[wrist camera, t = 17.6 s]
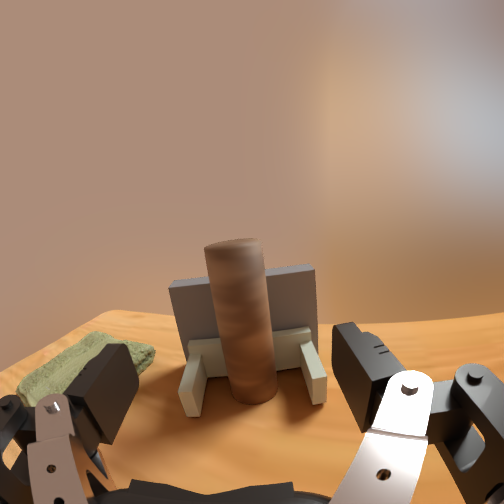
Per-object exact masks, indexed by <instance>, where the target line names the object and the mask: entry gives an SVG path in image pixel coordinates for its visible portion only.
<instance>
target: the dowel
mask: <svg viewBox="0 0 504 504" xmlns="http://www.w3.org/2000/svg"><path fill="white" fill-rule="evenodd" d="M204 252H205V258H206V264H207V270H208V276H209V282H210V288H211V293H212V299H213V304H214V309H215V315H216V320H217V325H218V330H219V335H220V340H221V345H222V350H223V355H224V359H225V364H226V369H227V373H228V378H229V382H230V387H231V391H232V395H233V397H234V398H235V399H236V400H237V401H239V402H241V403H244V404H260V403H264V402H266V401H268V400H270V399H272V398H273V397H274V396H275V395H276V393H277V391H278V383H277V373H276V364H275V355H274V346H273V337H272V328H271V319H270V310H269V301H268V293H267V284H266V275H265V268H264V259H263V250H262V242H261V240H260V239H253V238H249V239H235V240H228V241H223V242H218V243H215V244H211V245H209V246H206V247H205V248H204Z"/></svg>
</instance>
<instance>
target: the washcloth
mask: <svg viewBox="0 0 504 504" xmlns="http://www.w3.org/2000/svg"><path fill="white" fill-rule="evenodd" d="M108 343H124V344H126V345H127V347H128V349H129V352H130V355H131V357H132V360H133V363H134V366H135V369H136V371H137V374H138V375H139V374H141V373H142V371H144V370H145V369H146V368H147V367H148V366H149V365H150V364H151V363H152V362H153V359H154V356H155V351H156V350H154V347H153V346H151V345H147V344H143V343H138V342H132V341H128V340H123V341H122V340H117V339H114V337H112V336H111V335H108V334H106V333H101V332H97V331H94V332H91V333H89V334H87V335H86V336H85V337H84V338H82V339H81V341H79V342H78V343H76V344H75V345H73V346H71V347H68V348H67V349H65V350H64V351H63V352H62V353H60V354H59V355H57V356H56V357H55V358H53V359H52V360H51V361H49V362H48V363H46V364H44V365H43V366H41V367H40V368H38V369H36V370H34V371H33V372H31V373H30V374H28V375H27V376H25V377H24V378H23V379H22V381H21V382H20V384H19V385H18V387H17V390H16V393H17V394H18V395H19V397H20V398H21V400H22V401H23V403H24V404H25V406H26V407H36V404H37V403H38V401H39V400H40V399H42V398H43V397H45V396H47V395H49V394H54V393H59V394H63V392H64V391H65V390H66V389H67V387H68V386H69V385H70V383H71V382H72V381H73V380H74V378H75V377H76V376H77V375H78V373H79V372H80V371H81V370H83V367H84V366H85V365H86V364H87V362H88V361H89V360H91V359H92V358H94V357H95V356H97V355H98V354H99V353H100V352H101V350H102V349H103V348H104V347H105V345H106V344H108Z"/></svg>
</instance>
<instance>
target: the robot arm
mask: <svg viewBox="0 0 504 504" xmlns="http://www.w3.org/2000/svg"><path fill="white" fill-rule="evenodd" d="M332 369H333V372H334V375H335V377H336V379H337V381H338V384H339V386H340V388H341V390H342V392H343V394H344V396H345V398H346V400H347V403H348V405H349V407H350V409H351V411H352V413H353V415H354V418H355V420H356V422H357V424H358V426H359V428H360V431H361V433H364V432H367V433H366V435H365V437H364V439H363V442H362V444H361V446H360V448H359V450H358V452H357V454H356V456H355V458H354V460H353V462H352V464H351V466H350V468H349V470H348V471H347V473H346V475H345V477H344V479H343V480H342V482H341V484H340V486H339V487H338V489H337V491H336V492H335V494H334V496H333V497H332V498H331V497H327V496H324V495H320V494H316V493H310V492H303V491H294V489H293V483H292V482H286V483H278V484H269V485H258V486H248V487H244V488H240V489H236V490H231V491H227V492H222V493H217V494H211V495H203V494H199V493H195V492H191V491H188V490H184V489H181V488H177V487H174V486H171V485H168V484H161V483H153V482H146V481H140V480H134V479H132V480H131V483H130V486H129V488H126V489H118V490H117V488H116V486H115V484H114V482H113V480H112V478H111V475H110V473H109V471H108V468H107V466H106V464H105V461H104V458H103V456H102V453H101V451H100V450H99V448H98V445H99V443H104V444H110V445H112V444H113V441H114V439H115V437H116V435H117V433H118V430H119V428H120V426H121V424H122V422H123V420H124V417H125V415H126V413H127V411H128V409H129V407H130V405H131V403H132V400H133V398H134V396H135V394H136V392H137V390H138V387H139V378H138V374H137V371H136V369H135V366H134V363H133V360H132V357H131V355H130V352H129V349H128V347H127V345H126V344H124V343H108V344H106V345H105V347H104V348H103V349H102V350H101V352H100V353H99V354H98V355H97V356H95V357H94V358H92V359H91V360H89V361H88V362H87V364H86V365H85V366H84V367H83V370H81V371H80V372H79V373H78V375H77V376H76V377H75V378H74V380H73V381H72V382H71V383H70V385H69V386H68V387H67V389H66V390H65V391H64V392H63V394H59V393H54V394H49V395H47V396H45V397H43V398H42V399H40V400H39V401H38V403H37V404H36V407H25V406H24V405H23V403H22V401H21V399H20V398H19V397H18V396H17V395H7V396H4V397H2V398H1V399H0V504H410V501H411V498H412V495H413V492H414V490H415V486H416V483H417V480H418V477H419V473H420V470H421V466H422V463H423V459H424V455H425V451H426V446H427V445H429V444H435V446H436V448H437V450H438V451H439V453H440V455H441V457H442V459H443V460H444V462H445V464H446V466H447V468H448V470H449V471H450V473H451V475H452V477H453V479H454V481H455V483H456V485H457V487H458V489H459V490H460V492H461V494H462V496H463V498H464V500H465V502H466V504H504V384H503V383H502V382H501V381H500V380H499V379H498V378H497V377H496V376H495V375H494V374H493V373H492V372H491V371H490V370H489V369H488V368H486V367H485V366H483V365H480V364H473V363H472V364H465V365H463V366H461V367H460V368H458V370H457V371H456V374H455V377H454V380H447V381H440V382H432V381H431V380H430V378H429V377H427V376H426V375H424V374H422V373H419V372H415V371H407V370H406V369H405V368H404V367H403V365H402V364H401V363H400V362H399V361H398V360H397V358H396V357H395V356H394V355H393V354H392V353H391V352H389V349H388V348H387V347H386V346H384V343H383V342H382V341H381V340H380V339H379V338H378V337H377V336H375V335H373V334H371V333H369V332H363V333H362V332H361V331H360V330H359V328H358V327H357V326H356V325H355V323H353V322H349V323H343V324H338V325H334V326H333V329H332ZM473 423H474V424H475V425H476V426H477V428H478V429H479V430H480V432H481V433H482V435H483V436H484V439H485V442H484V441H483V440H482V438H481V437H480V435H479V434H478V433H477V431H476V430H475V428H474V427H473V426H472V425H473ZM12 438H13V439H14V440H15V442H16V443H17V444H18V446H19V447H20V448H21V449H22V451H21V453H20V454H19V456H18V458H17V460H16V461H15V463H14V465H13V467H12V468H11V470H9V469H8V468H7V467H6V465H5V464H4V462H3V459H2V454H3V452H4V450H5V448H6V447H7V445H8V444H9V442H10V441H11V439H12Z"/></svg>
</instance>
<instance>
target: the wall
mask: <svg viewBox="0 0 504 504" xmlns="http://www.w3.org/2000/svg"><path fill="white" fill-rule="evenodd" d="M265 275H266V284H267V293H268V301H269V310H270V319H271V328H272V332H274V331H281V330H288V329H295V328H301V327H307V326H309V328H310V331H311V341H312V343H313V345H314V347H315V350H316V352H317V354H318V323H317V300H316V282H315V269H313V267H312V266H311V265H310V264H303V265H295V266H287V267H280V268H272V269H265ZM168 289H169V293H170V298H171V302H172V306H173V311H174V315H175V319H176V323H177V327H178V331H179V335H180V339H181V343H182V346H183V350H184V354H185V357H186V361H188V358H189V355H190V354H189V350H188V347H187V346H188V343H189V340H199V339H212V338H220V335H219V330H218V325H217V320H216V315H215V309H214V304H213V299H212V293H211V288H210V282H209V276H208V277H200V278H191V279H183V280H174V281H173V283H172V284H171V285H170V286H169V288H168Z"/></svg>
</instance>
